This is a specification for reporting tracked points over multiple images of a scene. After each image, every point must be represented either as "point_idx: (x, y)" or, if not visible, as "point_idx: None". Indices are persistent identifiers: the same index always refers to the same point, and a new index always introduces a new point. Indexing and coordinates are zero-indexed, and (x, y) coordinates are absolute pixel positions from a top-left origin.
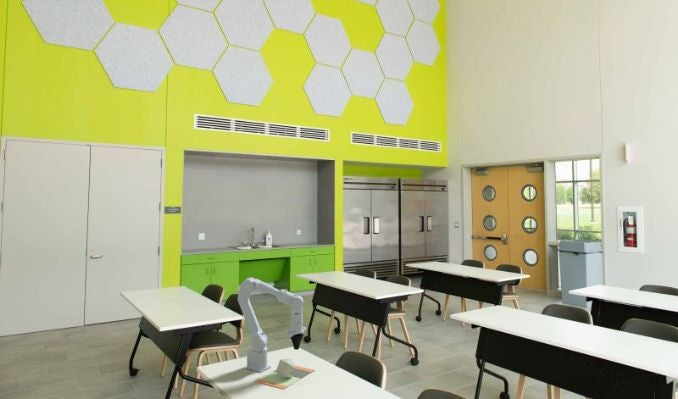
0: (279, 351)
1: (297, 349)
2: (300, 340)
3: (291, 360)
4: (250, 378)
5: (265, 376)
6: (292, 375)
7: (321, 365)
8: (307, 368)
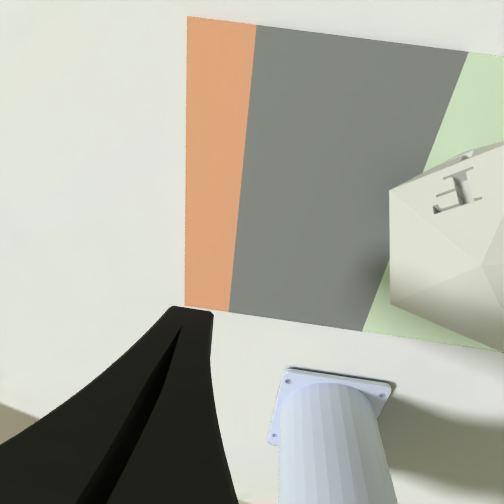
0: (41, 410)
1: (207, 314)
2: (95, 420)
3: (500, 243)
4: (497, 392)
5: (462, 337)
6: (477, 148)
7: (25, 12)
8: (187, 117)
